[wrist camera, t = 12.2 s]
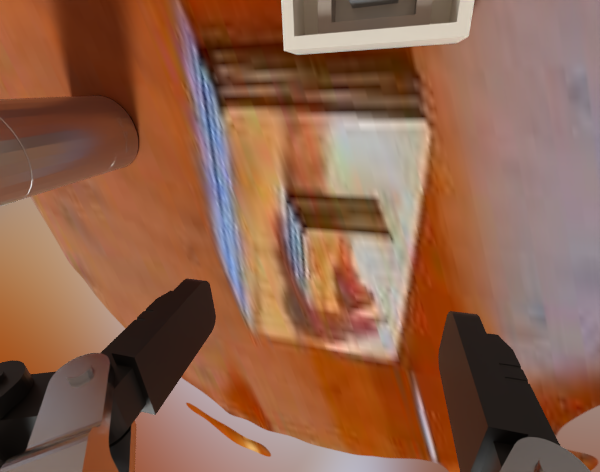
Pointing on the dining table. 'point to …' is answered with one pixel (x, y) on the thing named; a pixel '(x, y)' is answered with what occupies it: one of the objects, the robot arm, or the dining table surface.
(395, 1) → the plug
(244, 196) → the dining table surface
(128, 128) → the robot arm
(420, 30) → the caddy
